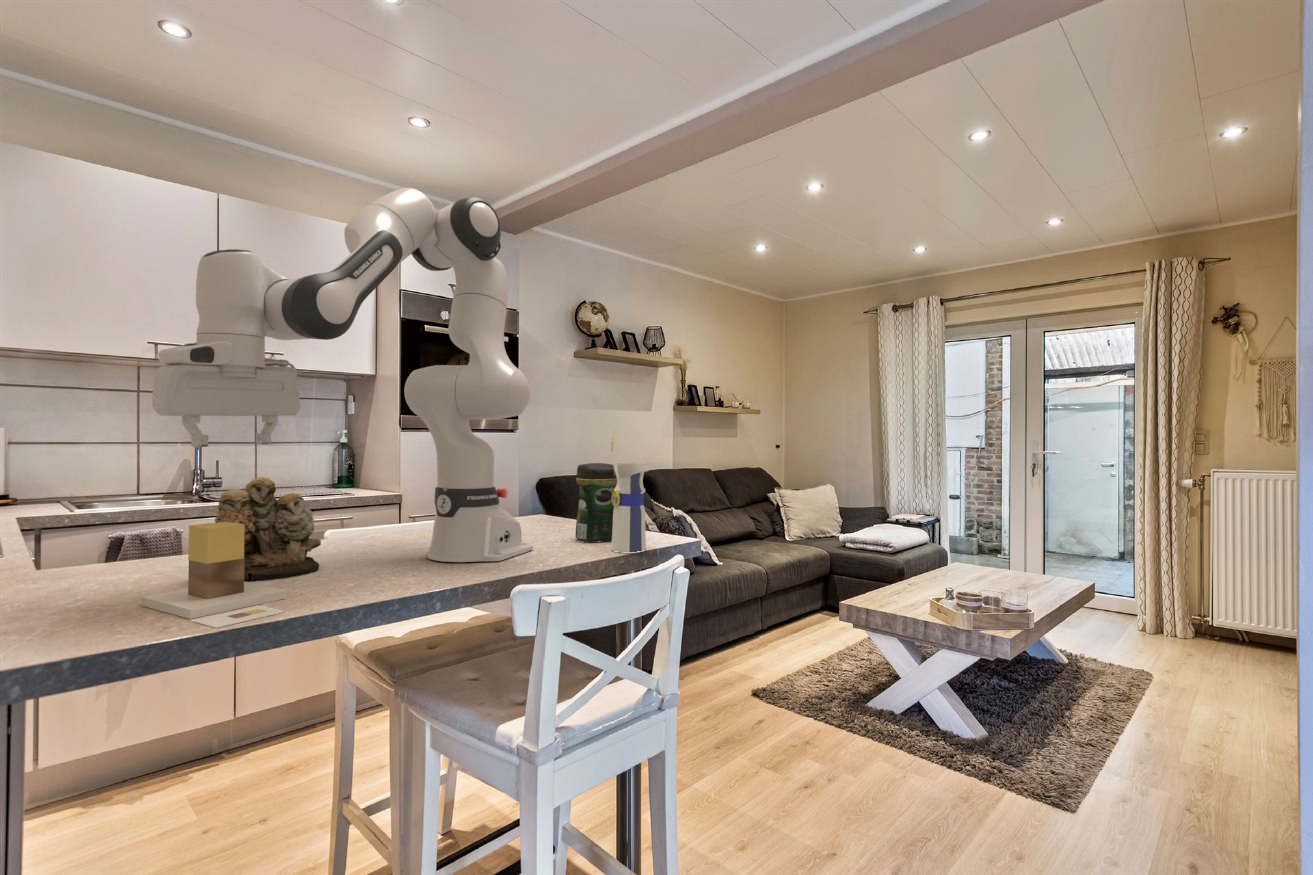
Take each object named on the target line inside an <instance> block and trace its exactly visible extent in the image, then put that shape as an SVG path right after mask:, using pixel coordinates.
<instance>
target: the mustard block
mask: <svg viewBox="0 0 1313 875" xmlns="http://www.w3.org/2000/svg"><path fill="white" fill-rule="evenodd" d="M244 534H245V524H238V523H231V522H218V523H216V522H212V523H211V522H209V523H199V524H191V525H188V551H187V552H188V554H187V555H188V561H189V560H190V561H196V562H201V563H206V564H210V563H217V562H223V561H230V560H237V559H243V558H244Z"/></svg>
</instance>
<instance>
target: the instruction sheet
mask: <svg viewBox="0 0 1313 875" xmlns="http://www.w3.org/2000/svg"><path fill="white" fill-rule="evenodd" d="M283 613H286V611H285V610H281V609H277V608H272V607H270V606H269V607H268V606H265V605H262V604H258V605H253V606H249V607H244V608H239V609H235V610H230V611H225V612H221V613H216V614H212V615H207V616H202V617H198V618H193V619H190V622H192V623H196V624H199V625H204V626H207V627H211V628H214V629H219V628H222V627H223V628H224V627H227V626H232V625H236V624H240V623H245V622H249V621H254V620H257V619H262V618H267V617H269V616H270V617H271V616H275V615H277V614H283Z"/></svg>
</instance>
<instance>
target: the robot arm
mask: <svg viewBox="0 0 1313 875" xmlns="http://www.w3.org/2000/svg"><path fill="white" fill-rule="evenodd" d="M343 232H344V242H345V245H346V249H347V250H348V252H349V255H348V256H347V257H346V258H344V259H343V260H342V261H341V262H340V263H339V264H338V265H336V267H334V268H333V269H332V270H330V271H327V272H320V273H314V274H309V275H306V276H302V277H297V278H288V277H286V276H283V275H282V274H280V273H279V272H277V271H276V270H274V269H272V268H271V267H270V266H269V265H268V264H266V262H264V261H263V260H262V259H261V258H260V256H259V254H258V252H257V253H256V252H255V251H250V250H247V249H235V248H234V249H218V250H214V251H211V252H207V253H206V254H204V255H202V256H201V257H200V260H199V262H198V266H197V270H196V272H197V273H196V280H195V281H196V283H195V306H196V311H197V313H198V319H199V321H198V326H197V328H196V332H195V334H196V341H195V342H193V343H184V344H183V345H178V346H174V347H168V348H164V349H161V350H160V351H159V352H158V356H157V357H158V361H159V363H160V364H162V366H160V367H159V368H158V369H157V370H156V372H155V375H154V378H153V383H152V384H153V385H152V386H153V387H152V409H153V410H154V411H155V412H156V414H158V415H159V416H165V417H166V416H167V417H170V416H171V417H175V416H177V417H178V416H179V417H180V416H181V418H182V419H181V421H182V422H181V424H182V425H183V427H184V428H185V430H186V431H187V432H188V433H189V435H190V436H191V440H190V441H191V442H190V443H191V447H193V448H206V447H209V439H210V438H209V434H203V432H201V429H200V428H199V426H198V425H197V424H201V416H203V417H205V416H206V417H207V416H211V417H213V416H214V417H215V416H216V417H217V416H220V417H221V416H222V417H223V416H227V417H228V416H237V417H238V416H243V417H244V416H248V417H249V416H258V417H259V416H260V417H261V422H262V423H264V425H263V427H262V429H261V431H260V432H256V433H255V443H256V445H271V444H272V434H273V433H274V430H275V429H276V427H277V425H278V423H279V416H296V415H298V413H299V412H300V410H301V401H300V400H301V399H300V394H299V393H300V392H299V385H298V371H297V368H296V367H295V366H294V364H292V363H290V362H289V360H287V359H274V358H266V337H268V338H272V339H275V340H280V341H281V340H282V341H294V340H297V341H299V340H311V339H312V340H327V341H328V340H334V339H336V338H337V339H338V338H339V337H341V336H343V335H344V334H345V333H346V332H348V330H349V329H350V328H351V327H352V324H354V321H355V319H356V316H357V314H358V312H359V309H360V307H361V306H362V304H363V302H364V301H366V299H367V298H368V296H370V294H372V293H373V291H375V290H376V288H377V287H378V286H380V284H381V283H383V281H384V280H385V279H386V278H387V277H388V276H389V275H391V273H393V270H394V269H396V267H398V265H400V264H401V263H402V262H404V260H406V259H407V258H408V257H409V256H412V257H413V259H414V260H415V261H416V262H417V263H418V264H419V265H420V266H421V267H423V269H426V270H429V271H433V272H442V271H443V272H444V271H447V270H450V269H451V268H453V271H454V275H455V287H454V291H453V297H452V302H451V310H450V317H449V323H448V328H447V330H448V334H449V335H448V336H449V338H450V341H451V342H452V343H453V344H454V345H455V346H456V347H458V348H459V349H460V350H462V351H464V352H465V353H467V354H469V360H468V364H463V365H462V364H460V365H458V364H446V365H445V364H441V365H440V364H436V365H430V366H426V367H422V368H418V369H415V370H413V371H412V372H411V373H410V374H409V376H408V377H407V379H406V380H405V384H404V392H403V393H404V399H405V402H406V404H407V406H408V407H409V409H410V410H411V411H412V413H414V414H415V415H416V416H418V417H419V419H421V421H422V422H423V423H424V424H425V426H426V428H427V429H428V430H429V432H430V435H431V437H432V439H433V442H434V446H435V451H436V464H437V465H436V468H437V469H436V470H437V472H436V473H437V480H436V481H437V482H436V483H437V484H436V487H435V488H434V496H433V497H434V505H435V516H434V521H433V528H432V536H431V541H430V546H429V549H428V554H427V556H426V557H427V558H428V559H429V560H431V561H437V562H438V561H439V562H445V563H447V562H448V563H468V562H469V563H473V562H474V563H475V562H500V561H503V560H507V559H510V558H513V557H516V556H519V555H522V554H525V553H528V552H530V550H531V551H533V550H534V549H533V548H534V547H533V545H532V544H530V543H525V542H523V541H522V539H523V538H522V527H521V524H520V522H519V521H518V520H517V519H516V518H515V517H514V516H513V515H511V514H510V513H509V512H508V511H507V510H506V509H505V508H503V507H502V506H501V504H500V499H499V498H502V499H506V498H508V496H509V490H508V488H498V487H497V489H496V487H495V486H494V483H495V481H494V477H495V476H494V475H495V452H494V451H493V450H494V449H493V448H492V447H491V446H490V444H489V443H488V442H486V441H485V440H483V439H482V438H480V437H478V436H476V435H475V434H474V433H473V431H472V428H471V426H470V420H502V419H507V418H512V417H517V416H520V415H521V414H523V412H524V411H525V410H526V408H527V406H528V404H529V402H530V397H531V388H530V383H529V381H528V379H527V377H526V375H525V374H524V372H522V370H520V369H519V368H518V367H517V366H515V365H514V363H513V362H512V361H511V359H510V358H509V355H508V353H507V351H506V347H505V342H504V341H505V339H504V337H505V326H506V325H505V324H506V314H507V305H508V304H507V303H508V276H507V270H506V267H505V266H504V264H503V263H502V262H501V261H500V260H499V259H498V258H496V257H497V256H498V254H499V252H500V250H501V248H502V246H501V241H500V240H501V235H502V233H501V232H502V231H501V223H500V218H499V217H498V214H497V212H496V210H495V209H494V208H493V206H492V205H491V204H490V203H489V202H488V201H486V200H485V199H483V198H480V197H477V196H476V197H475V196H473V197H472V196H471V197H464V198H461V199H458V200H457V201H455V202H454V203H452V204H450V205H447V206H444V207H443V208H440V209H438V208H436V207H435V206H434V204H433V203H432V201H431V200H430V198H428V196H427V195H426V194H424V193H423V192H421V191H420V190H418V189H416V188H412V187H401V188H398V189H396V190H393V191H391V192H388V193H387V194H384V195H382V196H381V197H378V198H377V199H375V200H373V201H371V203H369V204H368V205H366V206H365V207H363V208H362V209H361V210H359V211H358V212H357V213H356V214H355V215H354V216H352V218H351V219H350V220H349V222H348V223H347V224H346V226H345V228H344V231H343ZM512 556H513V557H512Z"/></svg>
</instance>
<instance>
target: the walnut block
mask: <svg viewBox="0 0 1313 875" xmlns="http://www.w3.org/2000/svg"><path fill="white" fill-rule="evenodd" d="M244 559H245V558H243V559H237V560H230V561H223V562H217V563H210V564H206V563H201V562H196V561H190V560H188V576H187V577H188V580H187V582H188V583H187V584H188V585H187V586H188V588H187V589H188V595H191V596H195V597H199V598H203V599H212V598H217V597H222V596H228V595H233V594H238V593H243V592H244Z"/></svg>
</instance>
